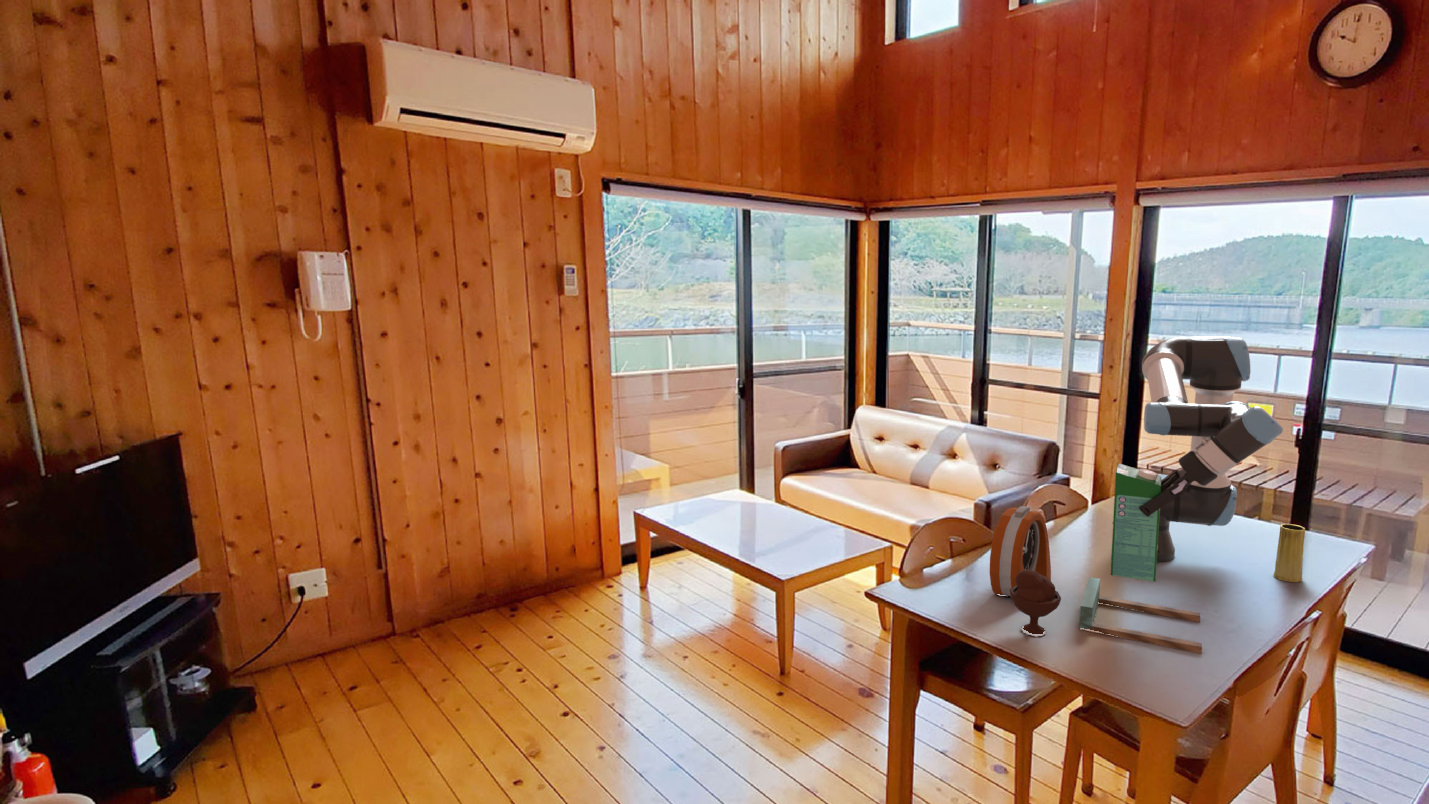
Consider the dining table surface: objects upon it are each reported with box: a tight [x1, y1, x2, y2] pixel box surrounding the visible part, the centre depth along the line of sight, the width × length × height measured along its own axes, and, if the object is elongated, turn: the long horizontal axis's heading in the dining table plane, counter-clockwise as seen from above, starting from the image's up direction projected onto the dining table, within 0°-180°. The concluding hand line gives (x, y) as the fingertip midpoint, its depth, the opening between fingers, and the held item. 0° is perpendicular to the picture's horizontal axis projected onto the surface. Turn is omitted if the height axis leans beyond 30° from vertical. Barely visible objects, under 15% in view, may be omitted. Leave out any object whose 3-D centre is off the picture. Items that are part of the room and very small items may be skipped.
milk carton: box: [1110, 463, 1161, 583], centre depth 172 cm, size 9×9×25 cm
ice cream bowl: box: [1009, 569, 1062, 634], centre depth 172 cm, size 11×11×15 cm
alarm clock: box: [989, 505, 1052, 597], centre depth 194 cm, size 22×10×23 cm, turn 137°
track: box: [1079, 576, 1203, 654], centre depth 174 cm, size 24×19×6 cm
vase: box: [1273, 523, 1306, 583], centre depth 196 cm, size 6×6×14 cm
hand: (1117, 524), depth 174 cm, fingers open, 4 cm apart
